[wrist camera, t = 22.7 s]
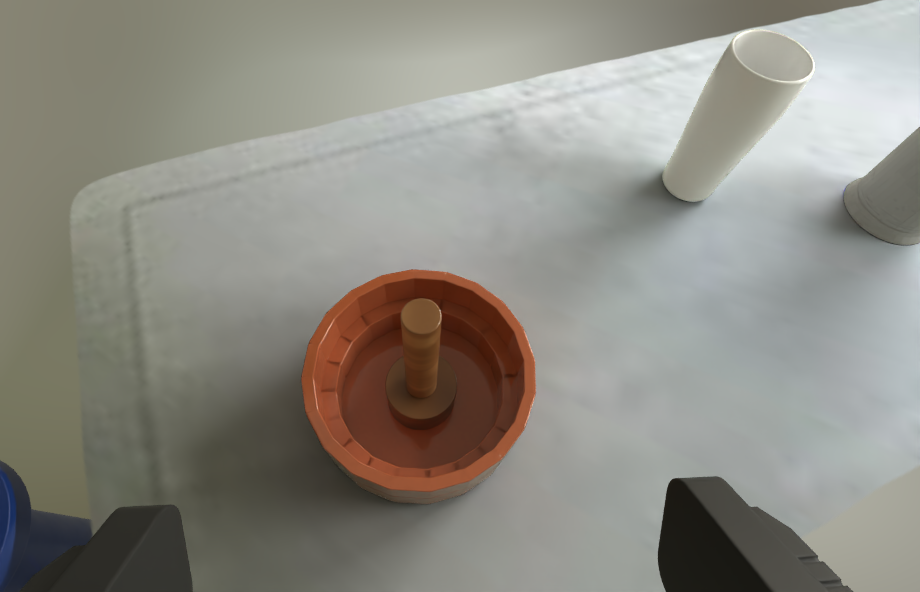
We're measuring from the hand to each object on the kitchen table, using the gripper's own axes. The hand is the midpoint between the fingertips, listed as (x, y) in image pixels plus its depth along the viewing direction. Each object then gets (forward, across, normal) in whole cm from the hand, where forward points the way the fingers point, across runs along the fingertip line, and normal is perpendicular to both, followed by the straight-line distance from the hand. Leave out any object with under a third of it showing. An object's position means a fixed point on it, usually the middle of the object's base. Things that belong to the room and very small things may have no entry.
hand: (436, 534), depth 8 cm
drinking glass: (+45, +28, +2) cm, 53 cm away
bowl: (+29, 0, -13) cm, 32 cm away
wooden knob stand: (+29, 0, -12) cm, 31 cm away
